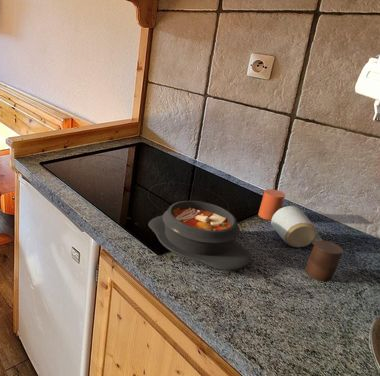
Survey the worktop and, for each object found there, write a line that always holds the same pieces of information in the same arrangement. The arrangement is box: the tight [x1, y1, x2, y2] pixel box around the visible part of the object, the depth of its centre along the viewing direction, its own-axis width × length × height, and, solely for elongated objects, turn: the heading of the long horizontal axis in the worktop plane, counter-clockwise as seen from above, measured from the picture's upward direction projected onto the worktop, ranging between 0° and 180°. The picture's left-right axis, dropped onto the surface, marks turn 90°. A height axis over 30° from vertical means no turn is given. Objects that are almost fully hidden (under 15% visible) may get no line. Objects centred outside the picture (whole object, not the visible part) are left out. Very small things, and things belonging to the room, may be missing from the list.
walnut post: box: [304, 240, 344, 283], centre depth 86 cm, size 5×5×7 cm
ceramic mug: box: [270, 205, 324, 248], centre depth 98 cm, size 11×8×8 cm
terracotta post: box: [257, 188, 286, 221], centre depth 109 cm, size 5×5×7 cm
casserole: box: [147, 200, 253, 271], centre depth 95 cm, size 25×19×8 cm
